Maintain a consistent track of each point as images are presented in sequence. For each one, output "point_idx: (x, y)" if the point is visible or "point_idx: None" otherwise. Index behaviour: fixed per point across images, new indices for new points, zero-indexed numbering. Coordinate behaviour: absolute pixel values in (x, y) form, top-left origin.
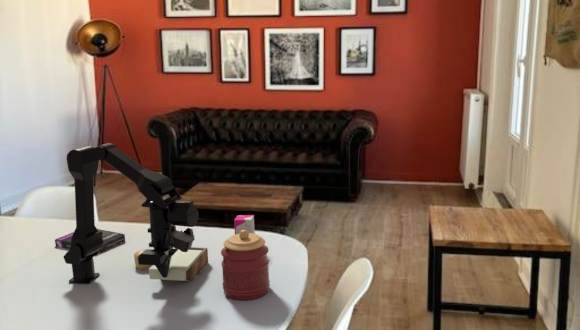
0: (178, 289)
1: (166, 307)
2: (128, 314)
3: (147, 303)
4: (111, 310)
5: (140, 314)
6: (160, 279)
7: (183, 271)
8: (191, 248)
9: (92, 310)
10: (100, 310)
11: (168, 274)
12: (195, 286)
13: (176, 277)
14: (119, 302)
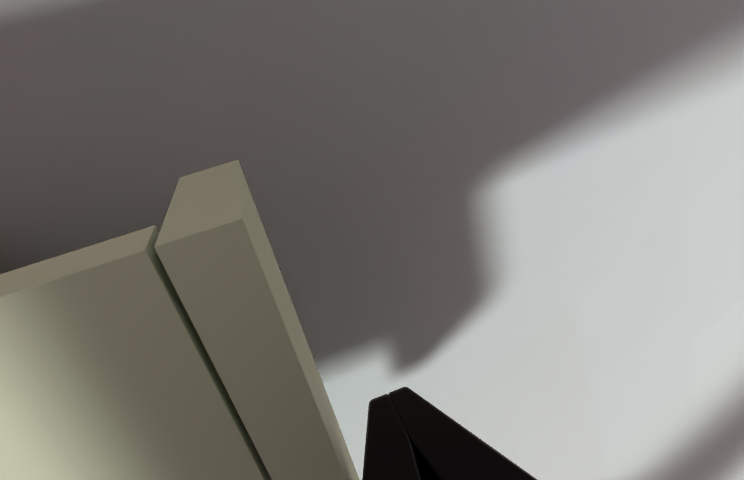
0: None
1: (607, 80)
2: (722, 271)
3: (568, 279)
4: (680, 393)
5: (722, 199)
6: (345, 444)
7: (249, 229)
8: None
9: (685, 466)
10: (683, 437)
11: (331, 420)
12: (46, 97)
13: (287, 299)
14: (585, 437)
